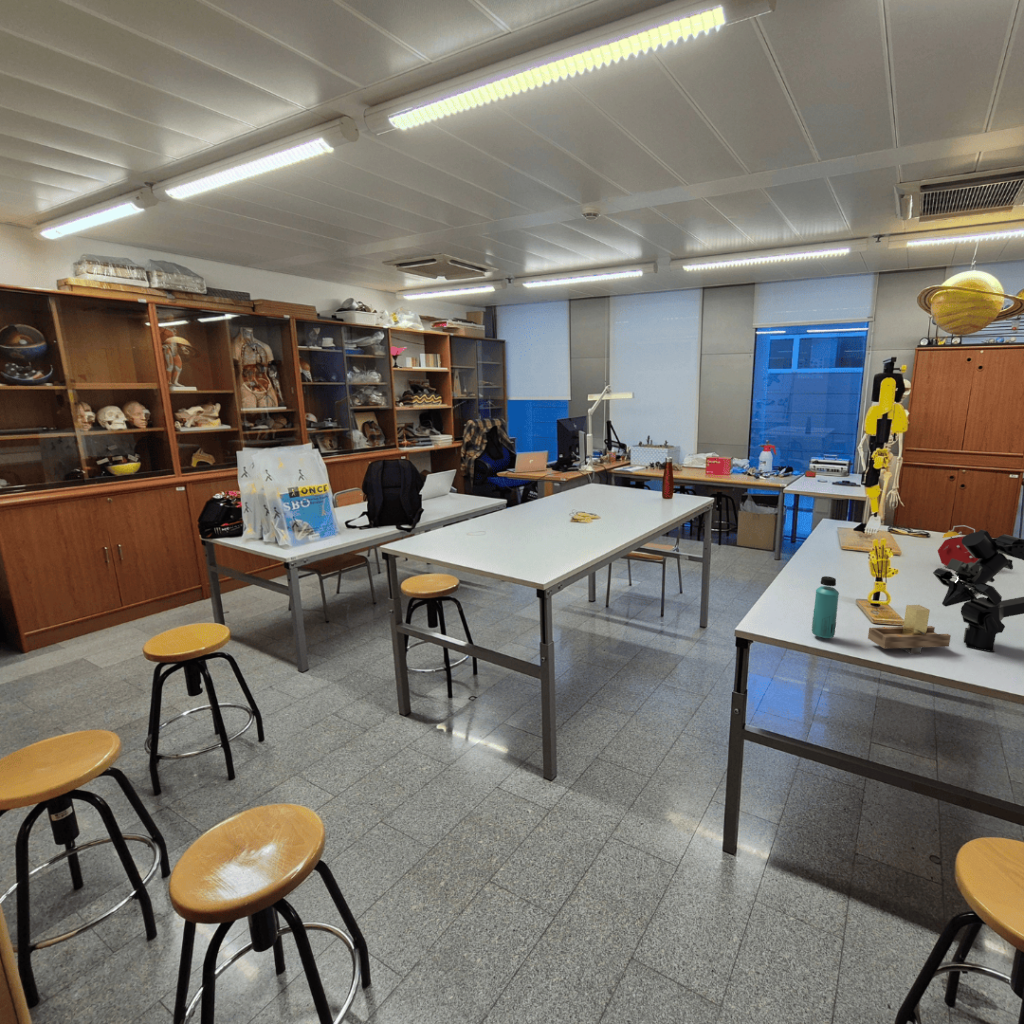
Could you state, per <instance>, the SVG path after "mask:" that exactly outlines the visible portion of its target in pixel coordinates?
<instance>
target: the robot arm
mask: <svg viewBox="0 0 1024 1024" xmlns="http://www.w3.org/2000/svg"><path fill="white" fill-rule="evenodd" d="M963 536H964V538H963V539H962V544H963V545H964V546H965V547H966V549H967V550H968V551H969V552H970V553H971V554H972V556H973V557H975V558H978V560H977V561H976V562H975V563H973V562H970V563H964V562H961V561H958V560H955V559H951V560H950V562H949V564H948V565H947V566H945V567H946V568H947V569H944V568H942V567H937V568H936V569H935V570H934V571H933V572H932V574H933V575H934V576H935V578H936V579H937V580H938V581H939V583H940V584H942V585H943V586H945V587H948V589H947V592H946V593H945V596H944V598H943V600H942V602H941V604H942V605H943V607H945V608H946V607H949V606H953V605H956V604H957V605H958V604H960V603H963V605H962V606H961V608H960V615H961V617H962V621H963V622H964V623H966V624H968V625H967V627H965V628H964V632H963V633H964V634H963V639H962V640H963V643H965V646H966V648H970V649H975V650H980V651H987V652H989V653H990V652H991V653H995V641H996V636H997V634H999V633H1000V634H1001V633H1003V631H1004V630H1005V628H1006V625H1004V623H1003V622H1002V620H1003V619H1005V618H1008V617H1014V616H1018V615H1023V614H1024V596H1019V597H1015V598H1009V599H1003V596H1002V595H1001V594H1000V593H999V592H998V590H997V589H996V588H995V586H992V585H990V584H988V582H990V583H994V582H995V581H996V580H995V578H994V577H995V576H996V575H997V574H999V572H1001V571H1002V570H1003V569H1004V568H1005V569H1008V570H1013V569H1014V565H1013V560H1012V559H1009V558H1007V557H1006V556H1008V557H1012V558H1015V559H1019V560H1022V561H1024V538H1020V537H1016V536H1012V535H1009V534H1005V533H1003V534H1002V535H1000V536H997V537H994V538H993V537H992V536H991V534H990V533H989V531H987V530H984V529H980V530H979V531H975V532H974V531H973V532H971V533H969V534H966V535H963ZM951 570H952V571H954V574H953V572H952V571H951ZM981 595H983V596H981ZM979 596H981V597H979ZM1002 599H1003V600H1002Z"/></svg>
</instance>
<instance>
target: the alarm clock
mask: <svg viewBox="0 0 1024 1024" xmlns="http://www.w3.org/2000/svg"><path fill="white" fill-rule="evenodd" d="M959 527H965V528H968V529H971V530H973V533H974V532H976V529H975V528H973V527H970V526H968V525H964V524H963V525H953V528H952V529H951V530H950V529H949V530H948V531H947V532H945V533H943V535H942V538H943V539H945V538H948V539H945V540H944V541H943V543H942V544H940V546H939V548H938V550H937V553H938V557H939V560H940V562H941V564H943V567H944V566H945V567H947V565H948V564H949V562H950V560H951V559H955V560H958V561H961V562H964V563H970V562H973V563H975V562H976V561H977V560H978V558H975V557H973V556H972V554H971V553H970V552H969V551H968V550H967V549H966V547H965V546H964V545H963V544H962V539H963V538H964V536H965V535H962V534H963V532H962V531H959V532H957V531H955V528H959ZM959 535H961V536H959Z"/></svg>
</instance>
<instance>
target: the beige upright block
mask: <svg viewBox="0 0 1024 1024" xmlns="http://www.w3.org/2000/svg"><path fill="white" fill-rule="evenodd" d="M905 606H906V607H905V612H904V619H903V626H902V627H903V632H902V633H903V634H905V635H923V634H926V631H927V626H929V625H928V623H929V617H930V611H931V609H929V608H928V607H925V606H923V605H920V604H906V605H905Z"/></svg>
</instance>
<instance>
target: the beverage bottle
mask: <svg viewBox="0 0 1024 1024" xmlns="http://www.w3.org/2000/svg"><path fill="white" fill-rule="evenodd" d="M836 580H837V579H836V578H835V577H832V576H826V575H825V576H821V579H820V584H821V586H819V587H817V588H816V589H815V600H814V606H813V607H814V608H813V613H812V622H811V624H812V625H811V632H812V634H813V635H815V636H817V637H819V638H824V639H832V638H833V637H834V636H835V635H836V634H835V633H836V627H837V626H836V625H837V616H838V614H837V613H838V606H839V605H838V603H839V596H840V595H839V594H840V593H839V591H838V590H837V589H836V588H835V587H836V586H837V581H836Z"/></svg>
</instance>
